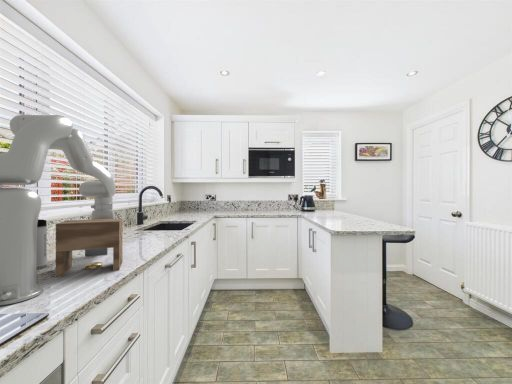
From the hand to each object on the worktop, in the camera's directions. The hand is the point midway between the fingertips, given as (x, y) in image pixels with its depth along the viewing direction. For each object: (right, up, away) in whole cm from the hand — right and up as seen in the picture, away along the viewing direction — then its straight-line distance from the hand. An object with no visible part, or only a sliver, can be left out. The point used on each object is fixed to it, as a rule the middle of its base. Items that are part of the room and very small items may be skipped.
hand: (103, 244), depth 120 cm
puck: (+9, -5, -21) cm, 23 cm away
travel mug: (-13, -5, -22) cm, 26 cm away
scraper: (+3, -1, -7) cm, 8 cm away
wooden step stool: (+10, -5, -23) cm, 26 cm away
